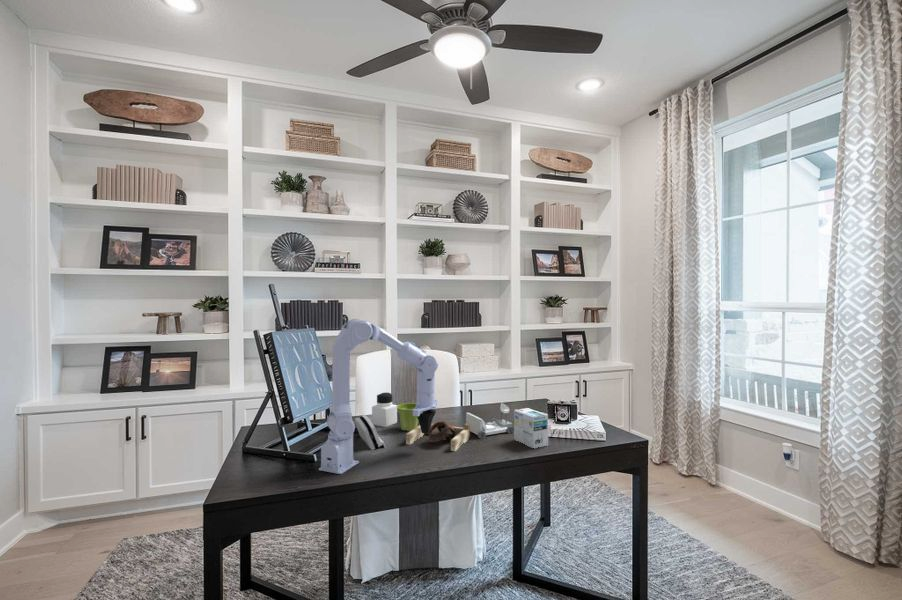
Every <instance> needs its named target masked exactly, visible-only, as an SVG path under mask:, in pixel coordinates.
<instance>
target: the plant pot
mask: <svg viewBox="0 0 902 600" xmlns="http://www.w3.org/2000/svg"><path fill="white" fill-rule="evenodd" d="M416 405H417V402H407V403H406V402H405V403H399V404H398V405H397V412H398V413H399V421H400V430H402V431H407V432H410V431H412V430H413V429H415V428H416V427H418V426H419V425H418V424H419V421H418V418H417V417H416V416H413V409H415V406H416Z"/></svg>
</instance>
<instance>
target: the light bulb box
mask: <svg viewBox="0 0 902 600" xmlns="http://www.w3.org/2000/svg"><path fill="white" fill-rule="evenodd" d="M513 411H514V412H513V415H514V416H513V417H514V418H513V419H514V421H513V422H514V423H513V427H514V432H513V435H514V438H513V440H514V439H515V440H514V441H516V442H518V441H519V442H518V443H520V442H521V443H520V444H522V443H523V445H524V444H525V446H527V447H529V448H530V449H533V448H534V449H537V448H538V447H539V448H543V447H547V446H549V414H548V413H544V412H541V411H537V410H534V409H532V408H529V407H525V408H519V409H514V410H513Z"/></svg>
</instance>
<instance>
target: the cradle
mask: <svg viewBox="0 0 902 600" xmlns="http://www.w3.org/2000/svg"><path fill="white" fill-rule="evenodd" d="M433 424H434V423H431V426H432V425H433ZM464 424H465V423H464ZM451 426H452V427H453V428H454V430H455V432H456V435H457V436H455V437H454V438H453V439H450V452H456V451H457V450H459V448H461V447H462V446H463V445H464V444H465V443H467V441H469V440H470V439H471V431H470V424H465V428H463V426H453V425H451ZM437 433H439V430H438V429H437V428H435V429H434V430H433V431H432V432H431V434H437ZM424 434H425V433H422V432H421V427H420V425H418V427H416V428H415V429H413V430H412V431H407V433H406V434H405V444H406V445H409V446H410V445H412V444H413V443H415V442H416V441H418V440H419V439H421V438H422V437H423V435H424ZM425 435H426V434H425ZM425 435H424V436H425ZM447 436H448V435H446V436H445V437H447ZM420 437H421V438H420ZM469 438H470V439H469ZM417 439H418V440H417ZM414 441H415V442H414ZM463 443H464V444H463ZM462 444H463V445H462ZM461 445H462V446H461ZM460 446H461V447H460Z"/></svg>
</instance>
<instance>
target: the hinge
mask: <svg viewBox="0 0 902 600" xmlns="http://www.w3.org/2000/svg"><path fill="white" fill-rule="evenodd" d="M354 424H355V427H356V428H357V431H358V435H359V436H360V437H361V439H362V440H363V441H364V442H365V444H366V445H367V447H369V449H370V450H371V451H373V450H376V447H378V448H380V447H381V446H382V447H384V448H386V449H387V446H386V443H385V442H384V440H382V439H381V437H380V436H379V435H378V432H377V429H376V427H375V425H373V423H372V420H371V419H370V418H369V417H368V415H366V414H363V415H360V417H357V416H356V418H355V419H354Z"/></svg>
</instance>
